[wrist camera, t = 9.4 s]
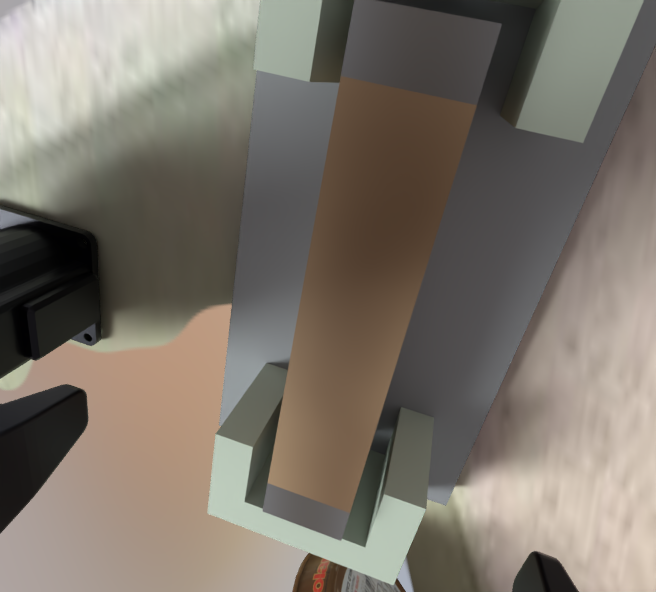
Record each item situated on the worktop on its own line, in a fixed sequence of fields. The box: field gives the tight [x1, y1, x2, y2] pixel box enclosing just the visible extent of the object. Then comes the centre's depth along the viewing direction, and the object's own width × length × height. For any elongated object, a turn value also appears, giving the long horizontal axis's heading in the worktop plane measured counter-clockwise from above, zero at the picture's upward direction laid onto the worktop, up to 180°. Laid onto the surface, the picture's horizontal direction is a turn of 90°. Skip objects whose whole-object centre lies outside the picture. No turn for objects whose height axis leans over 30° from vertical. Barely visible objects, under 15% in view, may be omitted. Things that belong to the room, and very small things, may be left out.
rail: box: [263, 0, 502, 541], centre depth 15 cm, size 3×16×6 cm, turn 169°
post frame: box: [208, 0, 656, 585], centre depth 16 cm, size 12×22×6 cm, turn 169°
